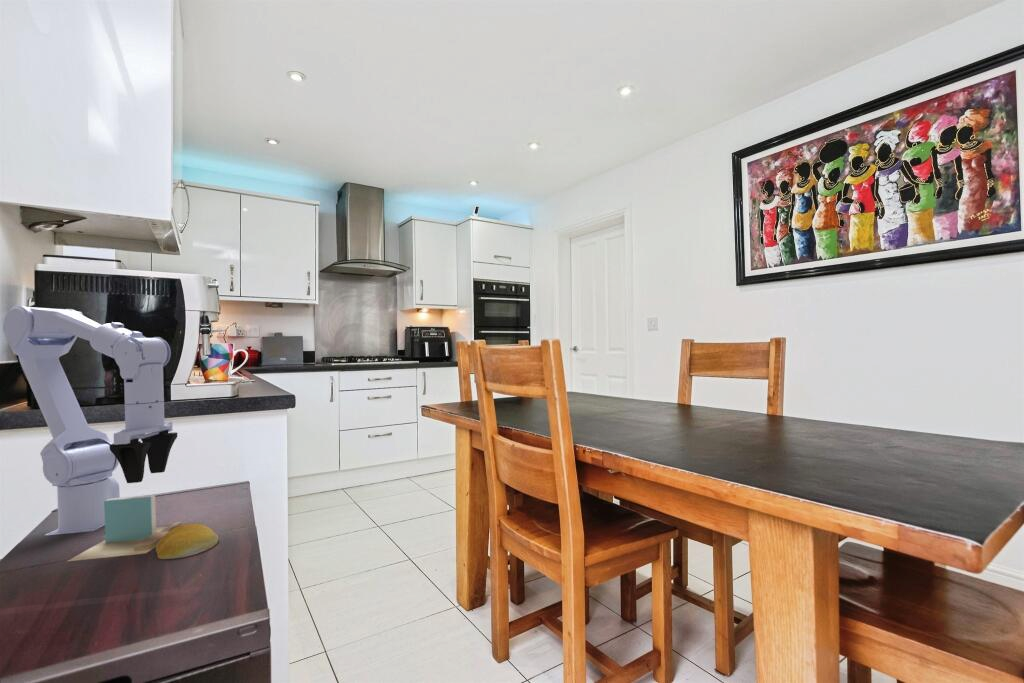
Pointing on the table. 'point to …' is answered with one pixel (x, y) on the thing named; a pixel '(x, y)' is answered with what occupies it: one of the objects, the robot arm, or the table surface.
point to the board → (112, 549)
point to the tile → (129, 518)
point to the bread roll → (186, 541)
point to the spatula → (154, 538)
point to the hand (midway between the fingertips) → (146, 477)
